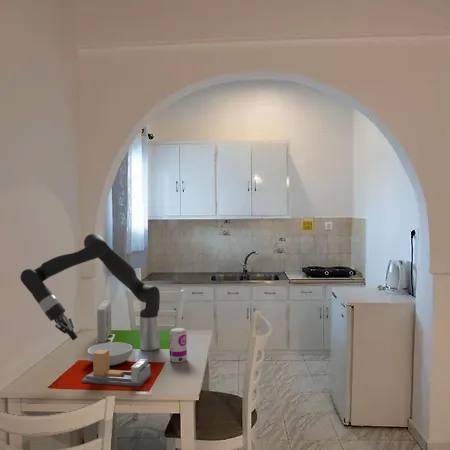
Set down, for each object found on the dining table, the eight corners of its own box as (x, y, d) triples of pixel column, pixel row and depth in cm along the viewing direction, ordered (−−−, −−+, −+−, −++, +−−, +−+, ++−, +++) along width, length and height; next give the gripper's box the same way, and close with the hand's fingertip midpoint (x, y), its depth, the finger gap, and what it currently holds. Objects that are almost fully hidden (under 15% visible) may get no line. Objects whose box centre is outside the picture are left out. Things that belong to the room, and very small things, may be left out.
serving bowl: (87, 372, 202) (86, 357, 202) (88, 357, 222) (88, 344, 222) (134, 367, 208) (133, 353, 208) (131, 354, 228) (131, 340, 228)
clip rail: (81, 382, 190) (81, 364, 190) (95, 372, 202) (95, 355, 202) (140, 386, 185) (139, 368, 185) (150, 375, 197) (150, 358, 197)
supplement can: (190, 360, 218) (190, 329, 217) (177, 364, 211) (177, 332, 211) (179, 356, 223) (178, 326, 223) (166, 360, 217) (165, 329, 217)
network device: (101, 333, 266) (100, 300, 265) (116, 333, 267) (115, 299, 266) (93, 346, 241) (92, 309, 240) (110, 346, 242) (109, 309, 241)
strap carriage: (93, 376, 193) (93, 353, 192) (99, 372, 198) (98, 349, 197) (119, 378, 190) (119, 354, 190) (124, 373, 195) (124, 351, 195)
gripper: (51, 311, 204) (74, 341, 203) (38, 314, 191) (62, 347, 190) (64, 300, 204) (87, 331, 203) (52, 303, 191) (76, 336, 190)
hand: (75, 338), depth 196 cm, fingers closed
